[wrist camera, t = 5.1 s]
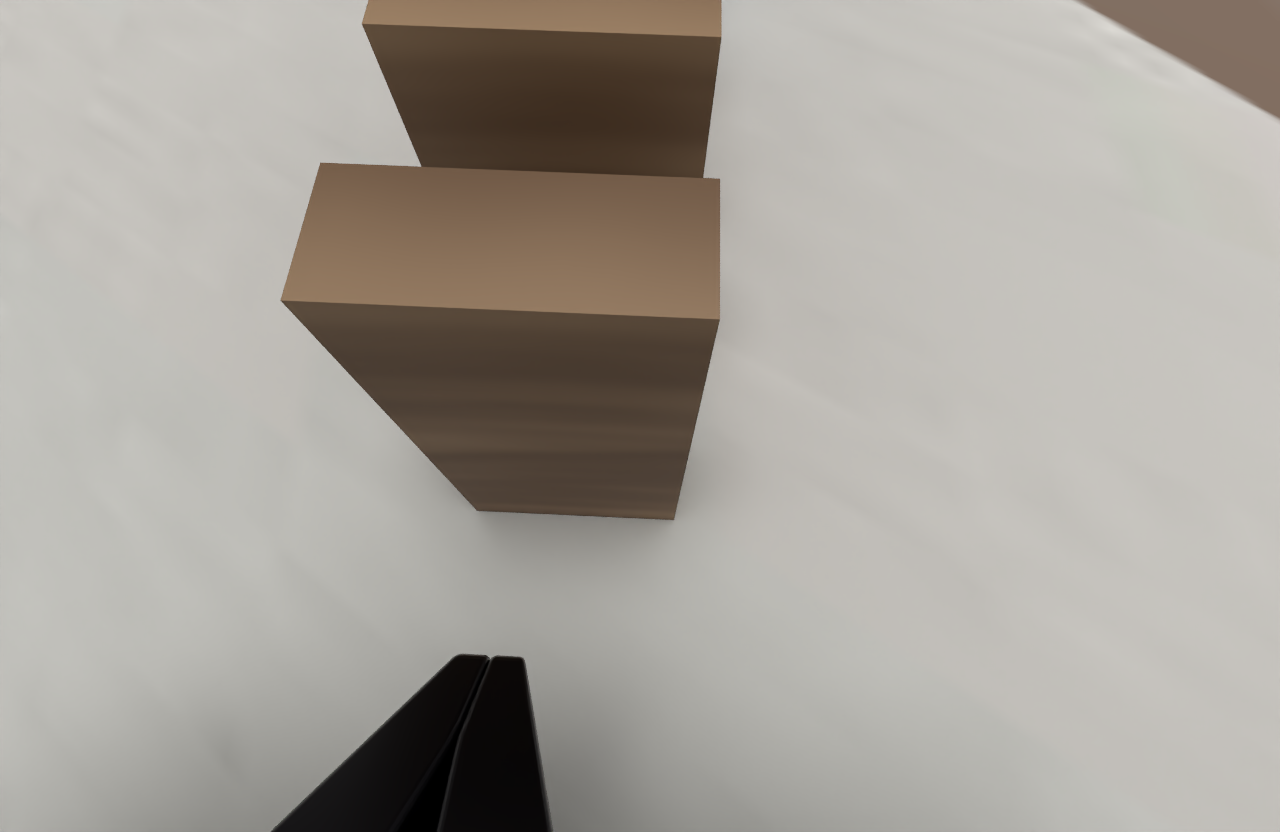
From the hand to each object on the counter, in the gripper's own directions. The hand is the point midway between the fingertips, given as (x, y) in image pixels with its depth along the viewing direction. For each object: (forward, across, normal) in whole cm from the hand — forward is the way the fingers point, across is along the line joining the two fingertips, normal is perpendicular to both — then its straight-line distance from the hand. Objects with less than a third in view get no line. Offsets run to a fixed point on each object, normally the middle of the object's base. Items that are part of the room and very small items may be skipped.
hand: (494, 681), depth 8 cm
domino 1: (+12, 0, -1) cm, 12 cm away
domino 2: (+9, 0, +2) cm, 9 cm away
